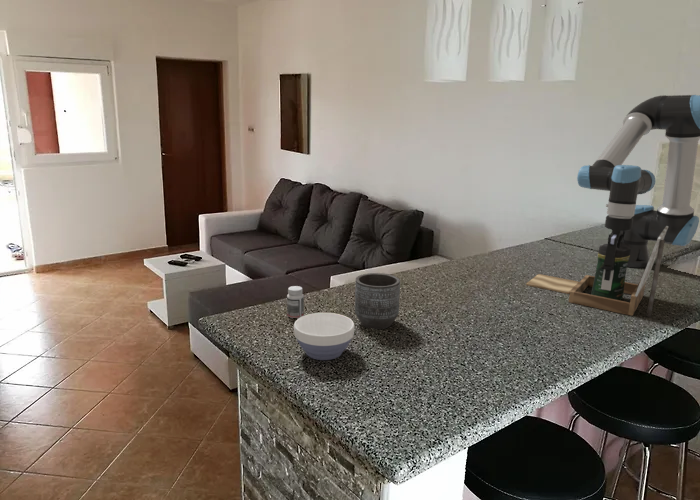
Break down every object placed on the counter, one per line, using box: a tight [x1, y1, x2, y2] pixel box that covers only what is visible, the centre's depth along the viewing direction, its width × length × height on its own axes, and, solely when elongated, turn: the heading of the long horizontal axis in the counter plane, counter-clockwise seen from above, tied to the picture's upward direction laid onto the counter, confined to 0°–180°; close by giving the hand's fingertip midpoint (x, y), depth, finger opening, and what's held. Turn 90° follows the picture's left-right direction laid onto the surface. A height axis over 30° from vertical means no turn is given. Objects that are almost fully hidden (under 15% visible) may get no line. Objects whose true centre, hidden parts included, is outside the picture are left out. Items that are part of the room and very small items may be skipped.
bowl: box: [293, 312, 356, 361], centre depth 124 cm, size 14×14×8 cm
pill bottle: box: [286, 285, 305, 319], centre depth 146 cm, size 5×5×8 cm
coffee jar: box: [590, 243, 631, 301], centre depth 163 cm, size 10×8×19 cm
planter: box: [354, 272, 401, 330], centre depth 141 cm, size 12×12×13 cm
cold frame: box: [568, 226, 668, 317], centre depth 161 cm, size 22×22×24 cm
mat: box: [525, 273, 580, 295], centre depth 179 cm, size 14×14×1 cm
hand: (608, 285), depth 164 cm, fingers closed on coffee jar, 9 cm apart
